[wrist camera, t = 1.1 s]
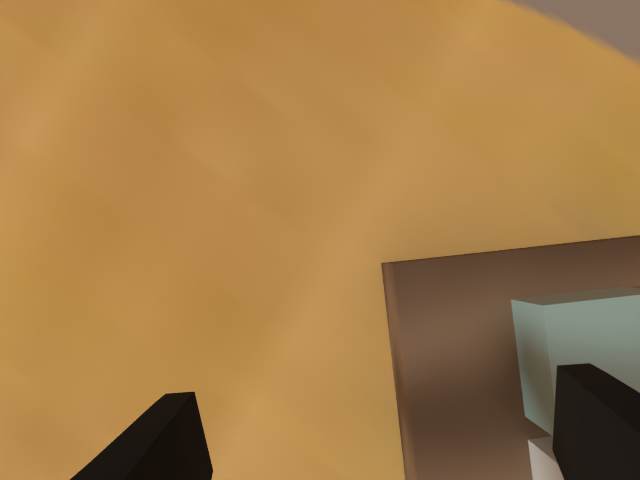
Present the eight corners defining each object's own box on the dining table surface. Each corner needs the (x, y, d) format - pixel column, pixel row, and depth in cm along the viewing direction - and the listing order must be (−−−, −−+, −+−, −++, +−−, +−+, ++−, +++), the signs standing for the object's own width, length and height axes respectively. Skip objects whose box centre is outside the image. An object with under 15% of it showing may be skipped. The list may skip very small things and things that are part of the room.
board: (674, 520, 22) (732, 560, 19) (413, 553, 22) (431, 600, 19) (637, 235, 23) (687, 232, 20) (381, 263, 22) (393, 264, 19)
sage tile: (639, 402, 19) (690, 425, 17) (525, 416, 19) (559, 440, 17) (624, 286, 20) (672, 290, 17) (510, 299, 19) (542, 305, 17)
